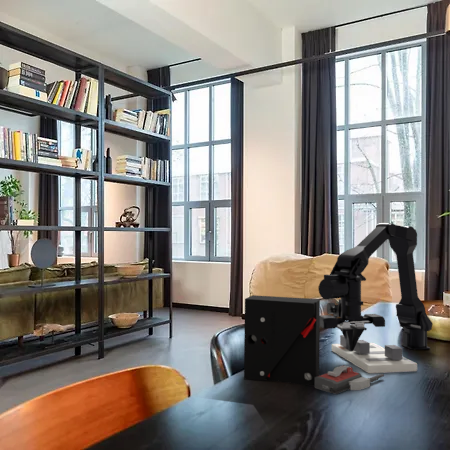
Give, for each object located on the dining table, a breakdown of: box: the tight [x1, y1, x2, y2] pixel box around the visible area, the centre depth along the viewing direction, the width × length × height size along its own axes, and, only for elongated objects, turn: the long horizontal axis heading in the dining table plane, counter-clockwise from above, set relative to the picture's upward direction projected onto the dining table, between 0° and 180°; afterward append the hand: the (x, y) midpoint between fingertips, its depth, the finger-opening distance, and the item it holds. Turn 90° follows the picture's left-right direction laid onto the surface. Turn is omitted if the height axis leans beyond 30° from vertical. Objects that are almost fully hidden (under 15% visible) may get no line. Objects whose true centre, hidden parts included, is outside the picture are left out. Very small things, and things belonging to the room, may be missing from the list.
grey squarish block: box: [384, 344, 403, 360], centre depth 127 cm, size 3×4×3 cm
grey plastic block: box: [339, 334, 348, 348], centre depth 139 cm, size 3×4×3 cm
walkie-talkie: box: [314, 365, 385, 395], centre depth 111 cm, size 9×4×20 cm
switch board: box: [331, 342, 418, 374], centre depth 133 cm, size 14×24×2 cm, turn 10°
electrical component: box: [243, 294, 321, 387], centre depth 115 cm, size 18×10×20 cm, turn 71°
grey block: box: [354, 339, 371, 354], centre depth 133 cm, size 3×4×3 cm
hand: (350, 350), depth 132 cm, fingers closed
